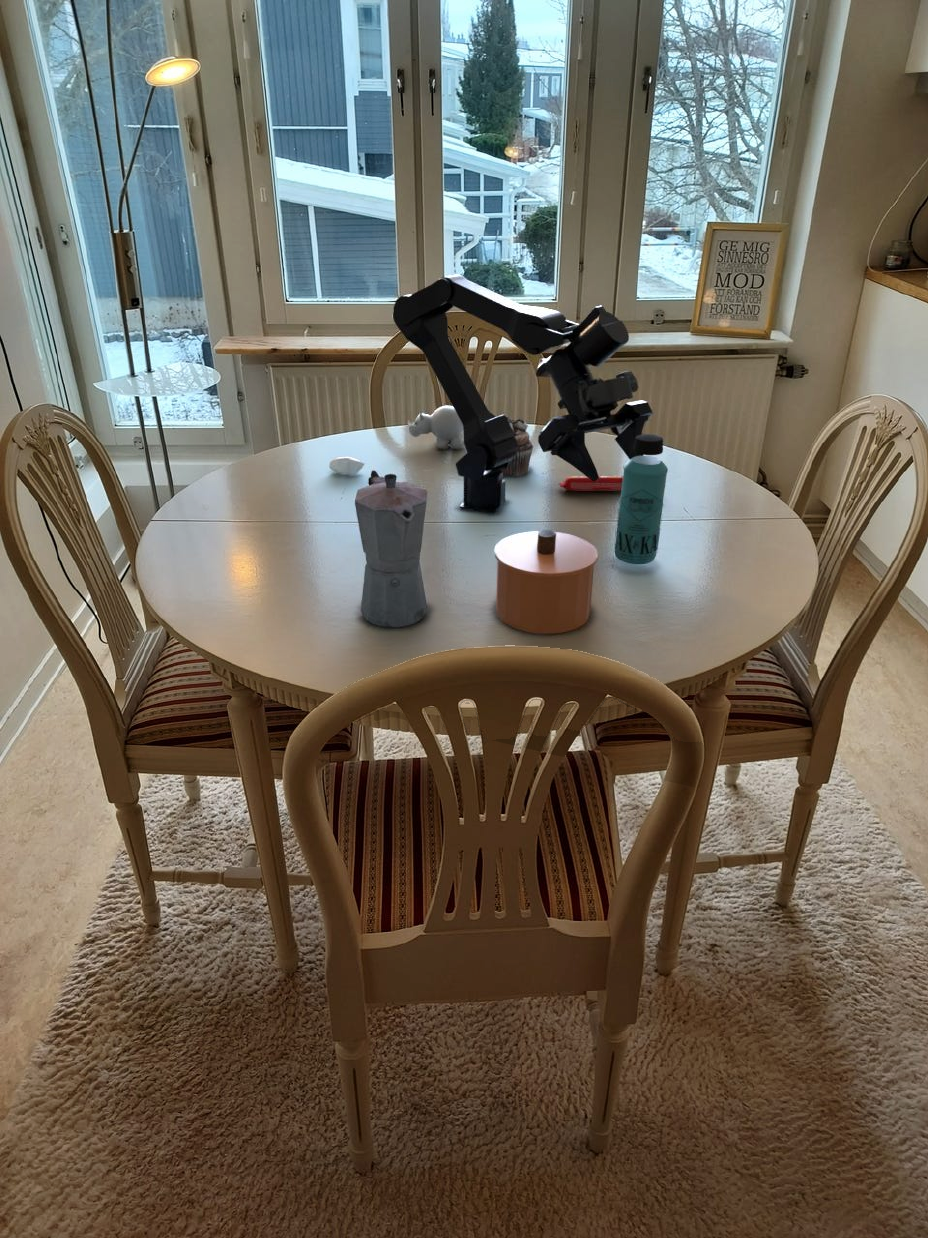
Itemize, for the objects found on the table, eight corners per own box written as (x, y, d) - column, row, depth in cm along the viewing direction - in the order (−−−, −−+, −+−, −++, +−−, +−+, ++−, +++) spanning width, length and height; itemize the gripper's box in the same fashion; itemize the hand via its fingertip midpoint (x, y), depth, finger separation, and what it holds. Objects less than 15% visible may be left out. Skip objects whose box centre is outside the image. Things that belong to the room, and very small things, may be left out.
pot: (483, 623, 114) (484, 565, 110) (513, 584, 125) (515, 530, 120) (575, 641, 110) (580, 581, 106) (598, 599, 121) (603, 543, 117)
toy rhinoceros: (409, 440, 186) (408, 401, 182) (464, 441, 186) (464, 401, 182) (406, 451, 179) (405, 410, 175) (464, 451, 179) (464, 410, 175)
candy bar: (642, 487, 161) (644, 472, 159) (647, 494, 158) (648, 478, 156) (557, 487, 160) (558, 472, 159) (559, 494, 157) (560, 479, 156)
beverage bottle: (608, 556, 133) (620, 429, 124) (649, 555, 134) (665, 429, 124) (618, 574, 128) (631, 443, 118) (661, 573, 128) (678, 442, 118)
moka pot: (381, 645, 109) (374, 496, 100) (339, 595, 121) (329, 458, 112) (448, 628, 113) (448, 483, 103) (401, 582, 125) (396, 448, 115)
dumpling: (330, 481, 164) (325, 460, 163) (333, 477, 169) (328, 457, 168) (366, 474, 164) (361, 453, 162) (368, 470, 169) (364, 450, 167)
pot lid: (479, 571, 110) (480, 545, 108) (512, 532, 121) (513, 508, 120) (583, 588, 106) (585, 561, 104) (607, 546, 117) (609, 522, 115)
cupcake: (474, 472, 168) (474, 421, 163) (498, 459, 175) (500, 410, 170) (517, 481, 163) (519, 429, 159) (540, 467, 171) (543, 417, 166)
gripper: (554, 360, 119) (601, 458, 117) (650, 346, 129) (697, 436, 126) (518, 405, 129) (561, 496, 126) (610, 388, 138) (652, 473, 135)
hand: (619, 474), depth 128 cm, fingers open, 9 cm apart
